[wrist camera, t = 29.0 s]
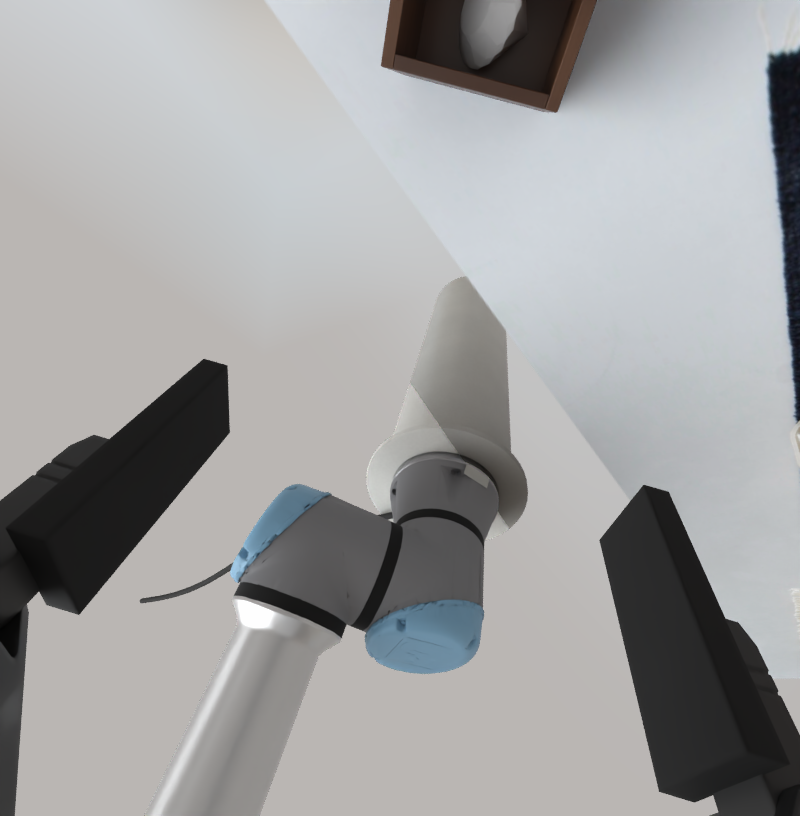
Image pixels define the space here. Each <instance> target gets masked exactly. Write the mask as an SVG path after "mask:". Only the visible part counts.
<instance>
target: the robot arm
mask: <svg viewBox="0 0 800 816" xmlns="http://www.w3.org/2000/svg"><path fill="white" fill-rule="evenodd" d="M229 433H230V429H229V400H228V370H227V365H224V364H220V363H217V362H213V361H210V360H206V359H203V360H202V361H201V362H200V363H198V364H197V365H196V366H195V367H194V368H192V369H191V370H190V371H189V372H188V373H187V374H185V375H184V376H183V377H182V378H181V379H180V380H178V381H177V382H176V383H175V384H174V385H172V386H171V387H170V388H169V389H168V390H167V391H165V392H164V393H163V394H162V395H161V396H160V397H158V398H157V399H156V400H155V401H154V402H153V403H151V404H150V405H149V406H148V407H147V408H145V409H144V410H143V411H142V412H141V413H140V414H138V415H137V416H136V417H135V418H134V419H133V420H131V421H130V422H129V423H128V424H127V425H126V426H124V427H123V428H122V429H121V430H120V431H119V432H117V433H116V434H115V435H114V436H113V437H111V438H110V439H106V438H102V437H100V436H96V435H93V436H90V437H88V438H86V439H84V440H82V441H79V442H77V443H75V444H72V445H70V446H69V447H68V448H66V449H65V450H64V451H63V452H61V453H60V454H59V455H58V456H56V457H55V458H54V459H53V460H52V462H51V463H48V464H46V465H45V466H44V467H42V468H41V469H40V470H39V471H38V472H37V473H36V475H35V476H34V475H32V476H31V477H30V478H29V479H27V480H26V481H25V482H23V483H22V484H21V485H20V486H18V487H17V488H16V489H14V490H13V491H12V492H11V493H9V494H8V495H7V496H6V497H4V498H3V499H2V500H1V501H0V816H15V801H16V787H17V773H18V759H19V744H20V730H21V715H22V701H23V687H24V672H25V658H26V643H27V628H28V614H29V612H28V608H27V603H28V602H29V601H30V600H31V599H32V598H33V597H34V596H35V595H36V594H37V593H38V592H40V594H41V596H42V597H43V599H44V601H45V603H46V604H47V605H49V606H52V607H55V608H58V609H62V610H65V611H68V612H72V613H75V614H78V615H79V614H80V613H81V612H82V611H83V609H84V608H85V607H86V606H87V605H88V603H89V602H90V601H91V600H92V598H93V597H94V596H95V595H96V594H97V592H98V591H99V590H100V589H101V588H102V586H103V585H104V584H105V583H106V582H107V580H108V579H109V578H110V577H111V575H112V574H113V573H114V572H115V570H117V568H118V567H119V566H120V565H121V563H122V562H123V561H124V560H125V559H126V557H127V556H128V555H129V554H130V553H131V551H132V550H133V549H134V548H135V547H136V545H137V544H138V543H139V542H140V540H141V539H142V538H143V537H144V535H145V534H146V533H147V532H148V531H149V530H150V528H151V527H152V526H153V525H154V524H155V522H156V521H157V520H158V519H159V517H160V516H161V515H162V514H163V513H164V511H165V510H166V509H167V508H168V507H169V505H170V504H171V503H172V502H173V500H174V499H175V498H176V497H177V496H178V494H179V493H180V492H181V491H182V490H183V488H184V487H185V486H186V485H187V484H188V482H189V481H190V480H191V479H192V478H193V476H194V475H195V474H196V473H197V471H198V470H199V469H200V468H201V467H202V465H203V464H204V463H205V462H206V461H207V459H208V458H209V457H210V456H211V455H212V453H213V452H214V451H215V450H216V449H217V447H218V446H219V445H220V444H221V442H222V441H223V440H224V439H225V438H226V436H227V435H228V434H229ZM390 501H391V509H392V512H389V513H385V514H381V515H375V514H373V513H371V512H368V511H366V510H363V509H361V508H359V507H357V506H354V505H352V504H350V503H347V502H345V501H343V500H341V499H339V498H336V497H334V496H332V495H331V494H330V493H328V492H326V493H324V492H321V491H319V490H316V489H313V488H310V487H307V486H305V485H301V484H295V485H291V486H289V487H287V488H286V489H284V490H283V491H282V492H281V493H280V494H279V495H278V496H277V497H276V498H275V499H274V501H273V502H272V503H271V504H270V506H269V507H268V508H267V509H266V511H265V512H264V514H263V515H262V516H261V518H260V519H259V521H258V522H257V524H256V525H255V527H254V528H253V530H252V531H251V533H250V534H249V536H248V537H247V539H246V541H245V543H244V546H243V548H242V549H241V550H240V552H239V554H238V555H237V557H236V558H235V560H234V562H233V563H232V564H230V565H229V566H227V567H226V568H224V569H222V570H221V571H219V572H218V573H216V574H214V575H213V576H211V577H209V578H207V579H206V580H204V581H202V582H200V583H198V584H195V585H193V586H191V587H188V588H186V589H183V590H180V591H177V592H174V593H170V594H166V595H161V596H155V597H149V598H143V599H141V600H140V603H146V602H153V601H160V600H164V599H169V598H173V597H177V596H180V595H183V594H186V593H189V592H191V591H194V590H196V589H198V588H200V587H202V586H205V585H207V584H208V583H210V582H212V581H214V580H216V579H217V578H219V577H221V576H222V575H224V574H225V573H227V572H229V571H230V570H231V571H230V573H231V577H232V578H234V581H235V582H238V583H239V582H240V585H239V587H238V589H237V591H236V593H235V595H234V596H233V599H232V602H233V606H234V609H235V613H236V616H237V625H236V628H235V630H234V632H233V634H232V636H231V638H230V640H229V642H228V644H227V646H226V648H225V650H224V652H223V654H222V656H221V659H220V661H219V663H218V665H217V667H216V669H215V671H214V673H213V675H212V677H211V679H210V681H209V683H208V685H207V687H206V689H205V691H204V693H203V695H202V697H201V699H200V702H199V704H198V706H197V708H196V710H195V712H194V714H193V716H192V718H191V720H190V723H189V724H188V727H187V728H186V730H185V732H184V735H183V737H182V739H181V741H180V743H179V745H178V747H177V749H176V751H175V753H174V755H173V757H172V759H171V761H170V763H169V766H168V768H167V769H166V772H165V774H164V776H163V778H162V780H161V782H160V784H159V786H158V788H157V790H156V792H155V794H154V796H153V798H152V800H151V802H150V804H149V807H148V809H147V811H146V813H145V815H144V816H260V813H261V810H262V808H263V805H264V802H265V800H266V797H267V794H268V792H269V789H270V786H271V784H272V781H273V778H274V775H275V773H276V770H277V767H278V764H279V762H280V759H281V756H282V753H283V751H284V748H285V745H286V743H287V740H288V738H289V735H290V732H291V730H292V727H293V724H294V721H295V719H296V716H297V713H298V710H299V708H300V705H301V703H302V700H303V697H304V694H305V692H306V689H307V686H308V684H309V681H310V678H311V676H312V673H313V670H314V668H315V665H316V662H317V659H318V656H319V655H321V654H322V653H323V652H324V651H326V650H327V649H329V648H331V647H333V646H334V645H336V644H338V643H339V642H340V640H341V638H342V635H343V632H344V629H345V627H346V625H350V626H352V627H355V628H357V629H359V630H362V631H365V632H366V634H365V642H366V649H367V651H368V653H369V655H370V656H371V657H374V658H375V660H376V661H377V662H378V663H380V664H382V665H384V666H386V667H389V668H391V669H395V670H399V671H404V672H409V673H420V674H428V673H429V674H430V673H440V672H446V671H450V670H453V669H456V668H458V667H460V666H462V665H464V664H466V663H467V662H468V661H469V660H471V659H472V658H473V656H474V655H475V654H476V652H477V650H478V648H479V644H480V637H481V627H482V620H483V618H484V610H483V572H484V570H483V569H484V541H485V539H486V537H487V535H488V532H489V530H490V527H491V525H492V523H493V521H494V519H495V517H496V515H497V512H498V508H499V490H498V486H497V483H496V481H495V479H494V478H493V476H492V475H491V473H490V472H489V471H488V470H487V469H486V468H485V467H483V466H482V465H481V464H479V463H478V462H476V461H474V460H473V459H471V458H468V457H466V456H463V455H460V454H456V453H451V452H440V451H437V452H427V453H422V454H419V455H416V456H414V457H411V458H410V459H408V460H406V461H405V462H404V463H402V464H401V465H400V466H399V468H398V469H397V470H396V472H395V474H394V477H393V480H392V483H391V487H390ZM389 519H393V522H394V523H393V522H391V521H389ZM600 544H601V548H602V553H603V557H604V561H605V565H606V569H607V574H608V578H609V582H610V586H611V590H612V595H613V599H614V603H615V607H616V611H617V616H618V620H619V624H620V628H621V632H622V636H623V641H624V645H625V649H626V654H627V658H628V662H629V666H630V670H631V675H632V679H633V683H634V687H635V692H636V696H637V700H638V704H639V708H640V712H641V716H642V720H643V725H644V729H645V733H646V738H647V742H648V746H649V750H650V755H651V759H652V763H653V767H654V772H655V776H656V780H657V784H658V788H659V792H662V793H666V794H669V795H672V796H675V797H678V798H682V799H685V800H688V801H692V802H697V801H699V800H702V799H704V798H707V797H709V796H712V795H713V796H714V799H715V802H716V805H717V808H718V811H719V813H716V814H713V815H710V816H800V735H799V733H798V731H797V729H796V726H795V724H794V722H793V720H792V718H791V716H790V714H789V712H788V710H787V708H786V706H785V704H784V701H783V699H782V698H781V696H779V695H778V689H777V687H776V685H775V683H774V681H773V679H772V677H771V675H768V671H769V670H768V668H767V666H766V664H765V662H764V660H763V658H762V656H761V654H760V652H759V650H758V648H757V646H756V645H755V643H754V642H753V641H752V639H751V638H750V637H749V636H748V634H747V633H746V632H745V631H744V629H743V628H742V627H741V625H740V624H739V623H738V622H735V621H731V620H728V619H725V617H724V614H723V612H722V610H721V608H720V606H719V603H718V601H717V599H716V597H715V594H714V592H713V590H712V588H711V585H710V583H709V581H708V579H707V577H706V574H705V572H704V570H703V568H702V565H701V563H700V561H699V559H698V556H697V554H696V552H695V550H694V547H693V545H692V543H691V541H690V539H689V536H688V534H687V532H686V530H685V527H684V525H683V523H682V521H681V518H680V516H679V514H678V512H677V509H676V507H675V505H674V503H673V501H672V498H671V496H670V494H669V492H667V491H664V490H660V489H657V488H653V487H650V486H646V485H643V486H642V487H641V489H640V490H639V491H638V492H637V494H636V495H635V496H634V498H633V499H632V500H631V501H630V503H629V504H628V505H627V507H626V508H625V509H624V510H623V511H622V513H621V514H620V515H619V516H618V518H617V519H616V520H615V521H614V523H613V524H612V525H611V526H610V528H609V529H608V530H607V531H606V533H605V534H604V535H603V536H602V538H601V539H600Z"/></svg>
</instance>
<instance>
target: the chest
mask: <svg viewBox="0 0 800 816" xmlns="http://www.w3.org/2000/svg"><path fill="white" fill-rule="evenodd" d="M464 1H465V0H390V7H389V14H388V21H387V28H386V34H385V41H384V48H383V55H382V62H381V66H382V67H384V68H387V69H390V70H393V71H395V72H398V73H401V74H404V75H407V76H411V77H414V78H418V79H422V80H426V81H429V82H433V83H437V84H441V85H444V86H448V87H452V88H456V89H460V90H463V91H467V92H471V93H475V94H478V95H482V96H486V97H490V98H494V99H497V100H501V101H505V102H509V103H512V104H516V105H520V106H524V107H528V108H531V109H535V110H539V111H543V112H555V113H556V112H557V111H558V109H559V106H560V103H561V100H562V98H563V95H564V92H565V89H566V86H567V84H568V81H569V78H570V75H571V72H572V70H573V67H574V64H575V61H576V58H577V56H578V53H579V50H580V47H581V44H582V41H583V39H584V36H585V33H586V30H587V27H588V25H589V22H590V19H591V16H592V13H593V11H594V8H595V5H596V2H597V0H526V13H527V30H528V34H527V35H525V36H524V37H523V38H522V39H520V40H519V41H518V42H516V43H515V44H514V45H513V46H511V47H510V48H509V49H508V50H506V51H505V52H504V53H503V54H501V55H500V56H499V57H498V58H496V59H495V60H494V61H493V62H491V63H490V64H488V65H485V66H483V67H481V68H479V69H478V70H477V69H472V68H469V67H468V66H467V65H466V64H465V63H464V62H463V59H462V56H461V53H460V49H459V29H460V18H461V12H462V8H463V5H464Z"/></svg>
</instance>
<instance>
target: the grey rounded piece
mask: <svg viewBox="0 0 800 816" xmlns="http://www.w3.org/2000/svg"><path fill="white" fill-rule="evenodd" d="M527 34H528V30H527V13H526V0H465V1H464V5H463V8H462V12H461V18H460V29H459V49H460V53H461V56H462V59H463V62H464V63H465V64H466V65H467V66H468V67H469V68H472V69H477V70H478V69H479V68H481V67H483V66H485V65H488V64H490V63H491V62H493V61H494V60H495V59H496V58H498V57H499V56H500V55H501V54H503V53H504V52H505V51H506V50H508V49H509V48H510V47H511V46H513V45H514V44H515V43H516V42H518V41H519V40H520V39H522V38H523V37H524V36H525V35H527Z"/></svg>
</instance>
